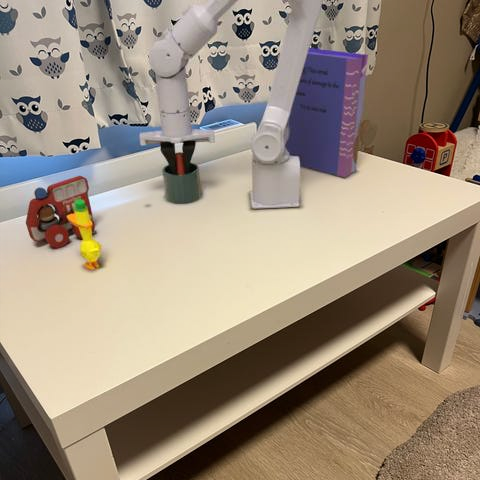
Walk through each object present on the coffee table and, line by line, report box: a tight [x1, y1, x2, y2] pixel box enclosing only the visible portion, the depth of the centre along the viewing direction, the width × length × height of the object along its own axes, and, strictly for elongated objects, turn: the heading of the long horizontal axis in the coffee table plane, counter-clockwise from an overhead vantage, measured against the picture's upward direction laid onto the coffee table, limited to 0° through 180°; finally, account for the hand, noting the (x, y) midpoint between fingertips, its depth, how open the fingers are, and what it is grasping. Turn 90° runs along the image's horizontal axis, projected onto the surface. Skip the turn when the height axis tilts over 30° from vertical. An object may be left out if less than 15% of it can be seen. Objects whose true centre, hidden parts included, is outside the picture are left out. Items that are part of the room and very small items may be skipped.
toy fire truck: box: [25, 175, 96, 249], centre depth 94 cm, size 7×12×10 cm, turn 130°
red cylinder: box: [175, 151, 185, 175], centre depth 107 cm, size 2×2×7 cm
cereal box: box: [285, 47, 369, 179], centre depth 114 cm, size 17×5×24 cm, turn 49°
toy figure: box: [67, 199, 103, 271], centre depth 85 cm, size 7×4×12 cm, turn 49°
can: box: [162, 161, 202, 205], centre depth 108 cm, size 7×7×6 cm
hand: (181, 178), depth 108 cm, fingers closed on red cylinder, 1 cm apart
